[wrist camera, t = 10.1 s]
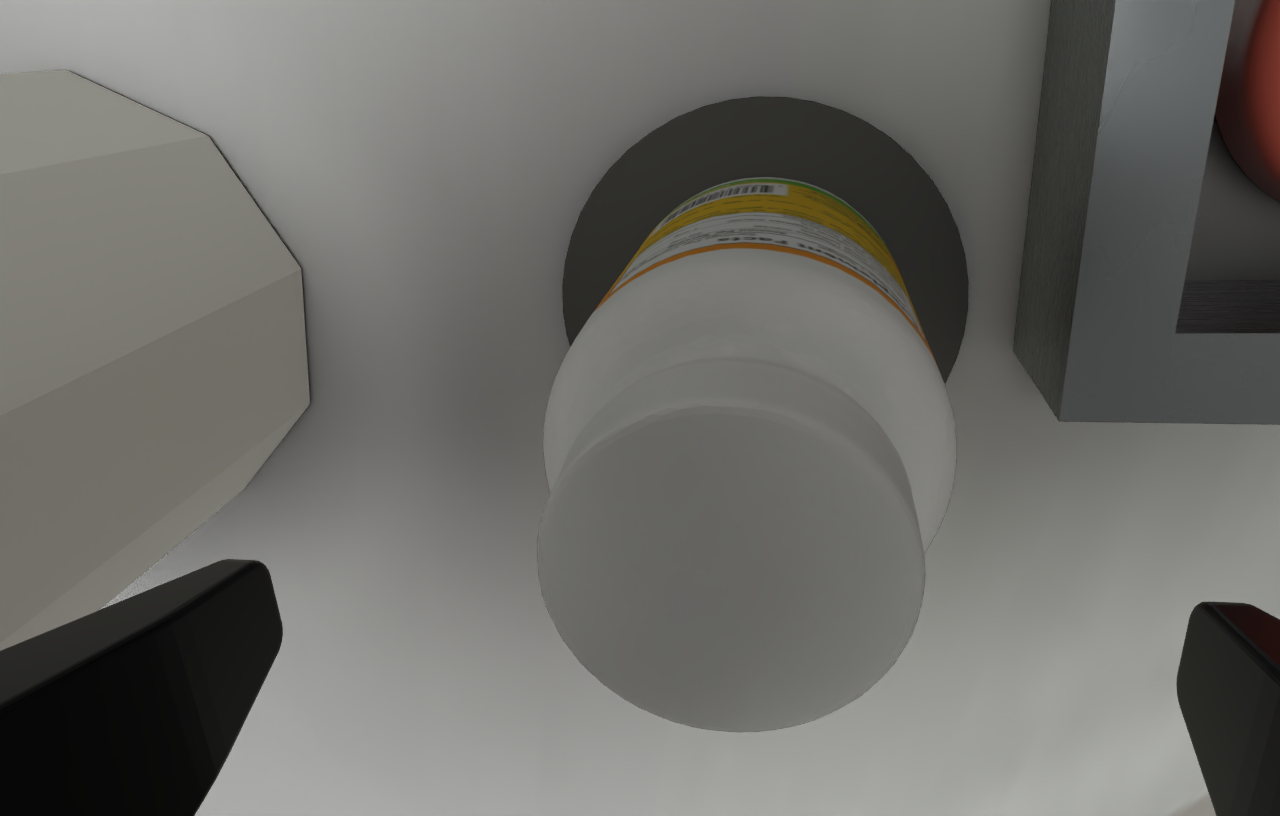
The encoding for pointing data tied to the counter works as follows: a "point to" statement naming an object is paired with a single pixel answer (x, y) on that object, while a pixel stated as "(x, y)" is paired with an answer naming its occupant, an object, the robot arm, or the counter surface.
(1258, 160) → the button
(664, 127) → the coaster
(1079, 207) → the grey square tray
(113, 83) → the counter surface
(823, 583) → the supplement bottle
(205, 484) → the toilet paper
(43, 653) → the robot arm
